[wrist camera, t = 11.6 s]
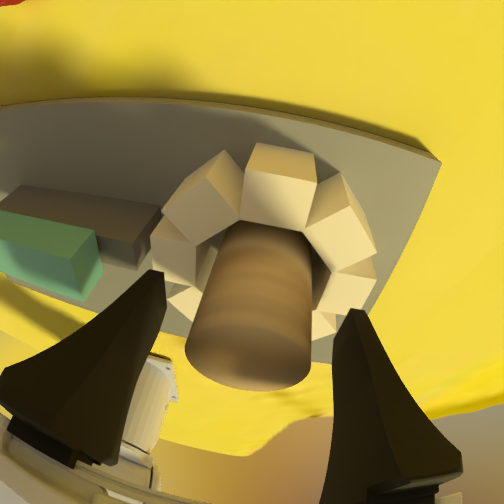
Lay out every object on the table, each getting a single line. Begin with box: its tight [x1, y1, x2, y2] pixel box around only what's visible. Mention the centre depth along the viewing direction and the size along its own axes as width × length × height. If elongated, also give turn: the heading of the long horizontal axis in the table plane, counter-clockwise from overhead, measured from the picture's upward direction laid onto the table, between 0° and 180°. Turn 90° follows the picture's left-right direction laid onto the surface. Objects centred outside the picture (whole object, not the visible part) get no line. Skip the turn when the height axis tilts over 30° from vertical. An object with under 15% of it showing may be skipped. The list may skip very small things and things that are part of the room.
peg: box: [185, 220, 312, 391], centre depth 12 cm, size 4×4×7 cm
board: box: [0, 97, 442, 364], centre depth 16 cm, size 16×30×4 cm, turn 82°
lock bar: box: [0, 210, 104, 302], centre depth 12 cm, size 3×12×2 cm, turn 82°
